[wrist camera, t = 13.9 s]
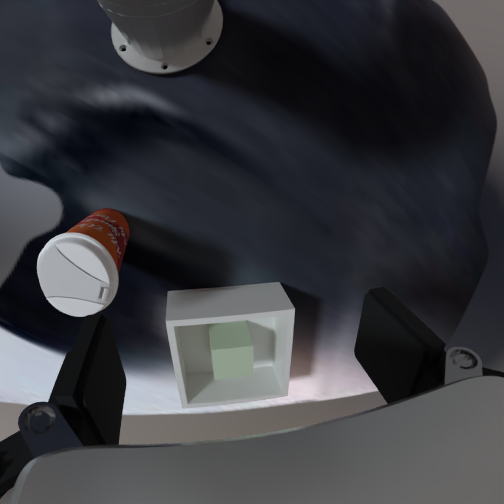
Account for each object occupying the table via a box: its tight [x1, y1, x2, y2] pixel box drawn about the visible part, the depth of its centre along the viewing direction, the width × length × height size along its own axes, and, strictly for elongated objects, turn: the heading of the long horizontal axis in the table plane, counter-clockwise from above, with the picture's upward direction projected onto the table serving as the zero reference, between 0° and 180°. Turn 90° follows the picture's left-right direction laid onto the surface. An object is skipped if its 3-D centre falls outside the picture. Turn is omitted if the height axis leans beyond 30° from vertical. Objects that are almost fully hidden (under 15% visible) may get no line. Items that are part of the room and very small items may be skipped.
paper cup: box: [37, 208, 129, 317], centre depth 30 cm, size 8×8×14 cm
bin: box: [166, 282, 295, 408], centre depth 41 cm, size 15×15×7 cm
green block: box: [208, 320, 254, 380], centre depth 41 cm, size 5×5×6 cm
